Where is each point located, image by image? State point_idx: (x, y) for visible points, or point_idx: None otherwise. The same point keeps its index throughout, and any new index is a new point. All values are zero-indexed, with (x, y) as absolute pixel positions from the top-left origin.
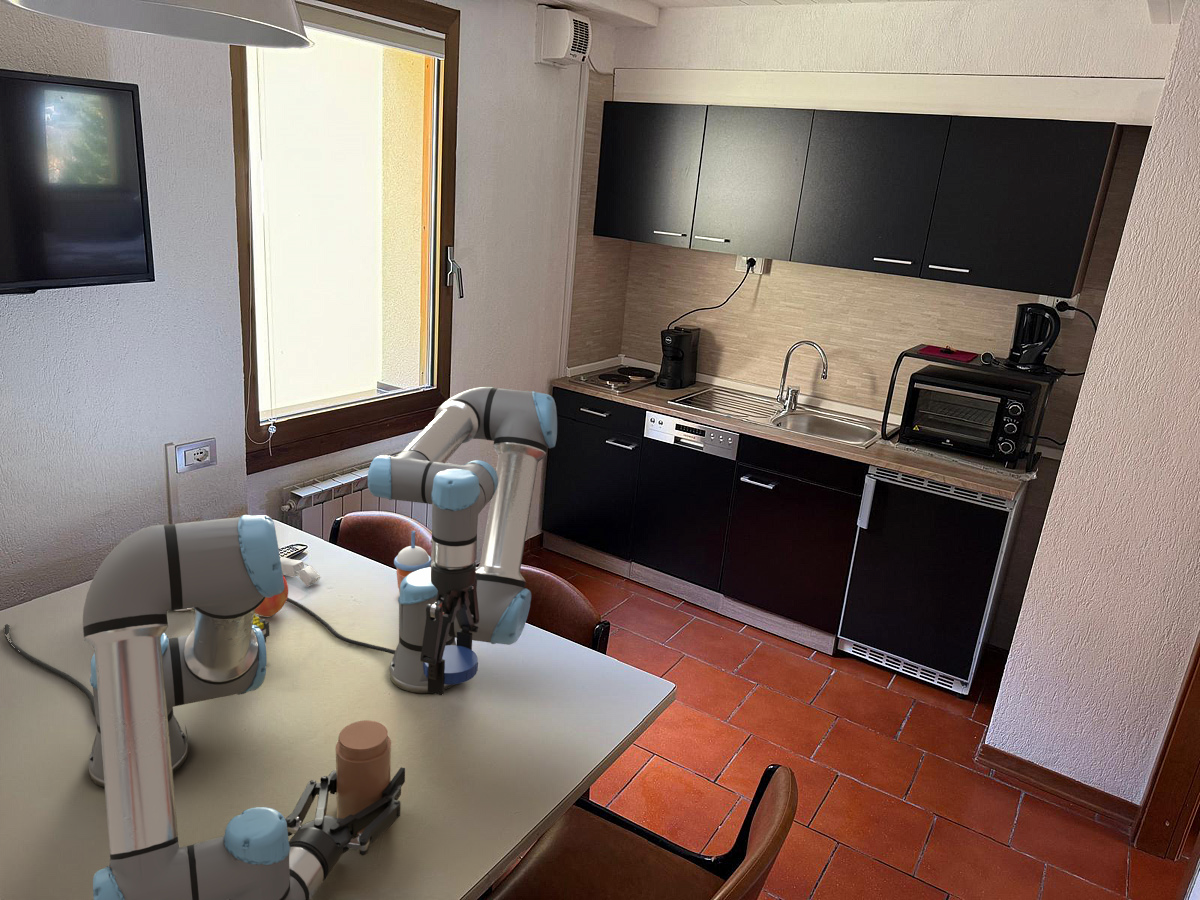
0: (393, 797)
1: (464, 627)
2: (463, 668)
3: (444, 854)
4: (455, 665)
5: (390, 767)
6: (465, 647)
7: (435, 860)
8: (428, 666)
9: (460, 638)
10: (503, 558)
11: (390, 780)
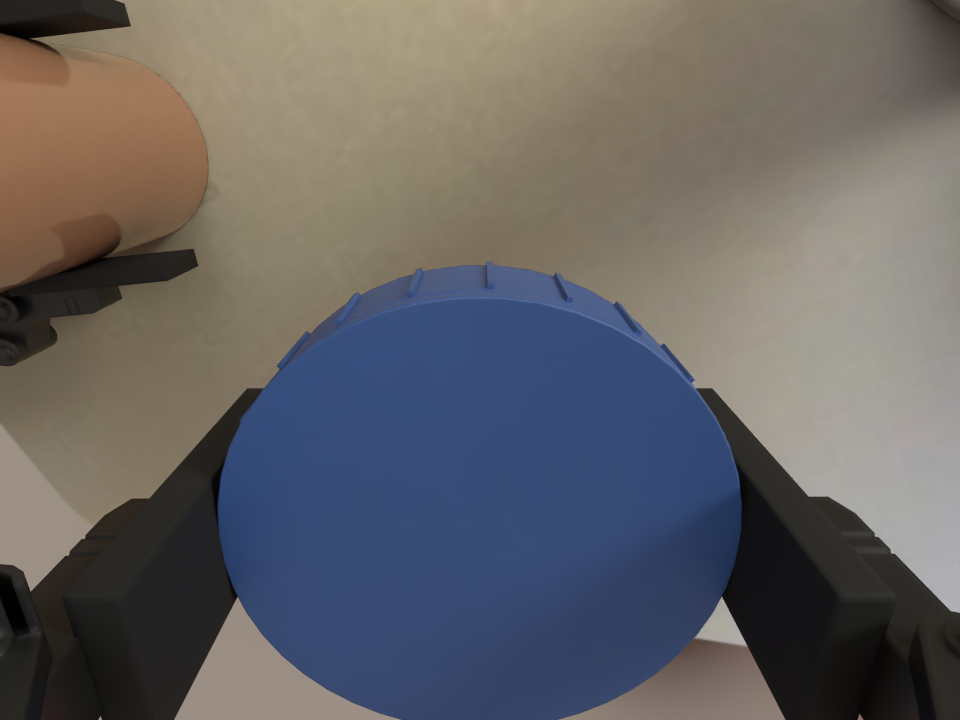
0: (36, 316)
1: (915, 712)
2: (390, 687)
3: (148, 442)
4: (397, 623)
5: (33, 280)
6: (728, 569)
7: (118, 432)
8: (33, 592)
9: (785, 578)
10: None
11: (79, 264)
